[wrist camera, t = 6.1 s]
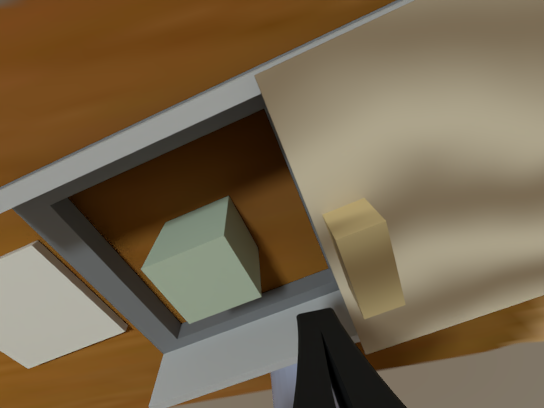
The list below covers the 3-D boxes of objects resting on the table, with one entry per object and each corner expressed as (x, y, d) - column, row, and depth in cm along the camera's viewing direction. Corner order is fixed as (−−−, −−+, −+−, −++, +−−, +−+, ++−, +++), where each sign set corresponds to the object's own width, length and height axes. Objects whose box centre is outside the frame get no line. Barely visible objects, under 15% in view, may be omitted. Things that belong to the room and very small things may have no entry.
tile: (128, 325, 23) (125, 331, 22) (32, 362, 24) (28, 368, 23) (37, 240, 18) (31, 245, 18) (-76, 289, 19) (-84, 296, 19)
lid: (562, 278, 16) (615, 312, 14) (362, 346, 17) (379, 388, 15) (631, -102, 8) (782, -169, 6) (253, 75, 9) (257, 77, 7)
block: (258, 247, 20) (261, 296, 16) (201, 270, 21) (189, 324, 16) (228, 195, 18) (223, 235, 14) (165, 221, 19) (141, 269, 14)
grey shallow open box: (436, 247, 22) (491, 297, 17) (173, 343, 24) (155, 412, 19) (404, -4, 14) (492, -44, 9) (14, 180, 16) (-86, 228, 11)
